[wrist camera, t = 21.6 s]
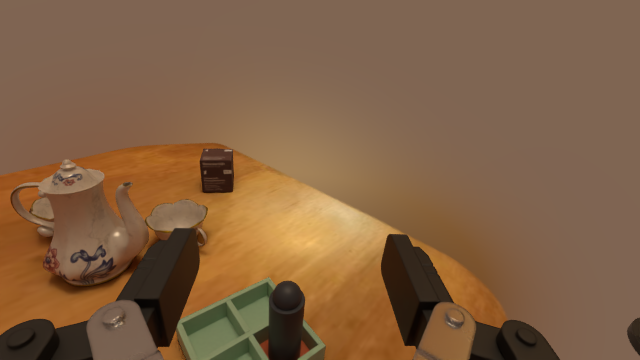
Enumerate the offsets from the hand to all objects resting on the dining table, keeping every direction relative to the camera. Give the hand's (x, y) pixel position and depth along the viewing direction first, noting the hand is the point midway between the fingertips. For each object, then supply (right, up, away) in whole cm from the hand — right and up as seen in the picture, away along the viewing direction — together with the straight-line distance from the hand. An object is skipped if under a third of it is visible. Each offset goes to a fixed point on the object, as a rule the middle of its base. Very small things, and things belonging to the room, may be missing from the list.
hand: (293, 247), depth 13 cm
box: (-20, +2, +53) cm, 57 cm away
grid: (-7, -16, +22) cm, 28 cm away
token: (-3, -16, +21) cm, 27 cm away
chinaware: (-30, -8, +34) cm, 46 cm away
